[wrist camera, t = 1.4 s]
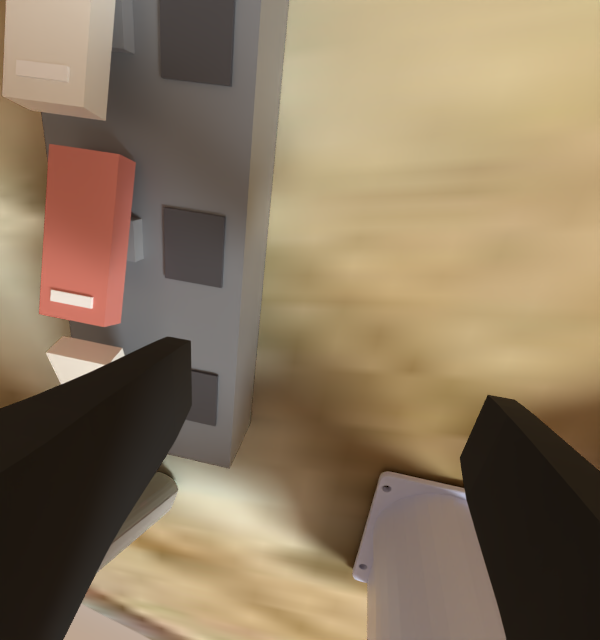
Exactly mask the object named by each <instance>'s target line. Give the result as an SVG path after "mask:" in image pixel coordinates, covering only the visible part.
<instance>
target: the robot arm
mask: <svg viewBox="0 0 600 640" xmlns="http://www.w3.org/2000/svg"><path fill="white" fill-rule="evenodd" d="M191 406H192V373H191V341H190V340H185V339H179V338H174V337H168V336H167V337H165V338H162V339H159V340H157V341H155V342H153V343H150V344H148V345H146V346H144V347H142V348H140V349H138V350H136V351H133V352H131V353H129V354H127V355H125V356H123V357H121V358H119V359H117V360H115V361H112V362H110V363H108V364H106V365H104V366H102V367H100V368H98V369H95V370H93V371H91V372H89V373H87V374H84V375H82V376H80V377H77V378H75V379H73V380H70V381H68V382H66V383H63V384H61V385H59V386H56V387H54V388H52V389H49V390H47V391H45V392H42V393H40V394H38V395H35V396H33V397H30V398H27V399H25V400H22V401H20V402H17V403H14V404H12V405H9V406H6V407H3V408H0V640H63V639H64V637H65V635H66V633H67V631H68V629H69V627H70V625H71V623H72V621H73V619H74V617H75V615H76V613H77V611H78V609H79V607H80V605H81V603H82V600H83V598H84V596H85V594H86V592H87V590H88V588H89V586H90V585H91V583H92V581H93V579H94V577H95V575H96V573H97V571H98V569H99V567H100V565H101V563H102V561H103V559H104V557H105V555H106V553H107V551H108V550H109V548H110V546H111V544H112V542H113V540H114V539H115V537H116V535H117V534H118V532H119V530H120V528H121V527H122V525H123V523H124V522H125V520H126V519H127V517H128V515H129V514H130V512H131V511H132V509H133V507H134V506H135V504H136V503H137V501H138V500H139V498H140V496H141V495H142V493H143V492H144V490H145V489H146V487H147V485H148V484H149V482H150V481H151V479H152V478H153V476H154V474H155V473H156V471H157V470H158V468H159V467H160V465H161V463H162V462H163V460H164V459H165V457H166V455H167V454H168V452H169V451H170V449H171V447H172V446H173V444H174V442H175V441H176V439H177V437H178V435H179V433H180V430H181V428H182V426H183V424H184V422H185V420H186V417H187V415H188V413H189V411H190V409H191ZM460 462H461V469H462V476H463V483H464V488H461V487H457V486H452V485H448V484H443V483H439V482H434V481H430V480H426V479H421V478H417V477H412V476H408V475H403V474H399V473H394V472H389V471H386V472H383V473H381V475H380V477H379V480H378V484H377V487H376V491H375V494H374V498H373V501H372V505H371V508H370V512H369V515H368V519H367V522H366V526H365V529H364V533H363V536H362V540H361V543H360V547H359V550H358V553H357V557H356V560H355V564H354V567H353V577H354V578H355V579H356V580H358V581H362V582H366V583H367V640H600V471H599V470H598V469H596V468H595V467H594V466H593V465H592V464H591V463H589V462H588V461H587V460H586V459H585V458H584V457H582V456H581V455H580V454H579V453H578V452H577V451H575V450H574V449H573V448H572V447H571V446H570V445H568V444H567V443H566V442H565V441H564V440H563V439H562V438H560V437H559V436H558V435H557V434H556V433H555V432H554V431H552V430H551V429H550V428H549V427H548V426H547V425H545V424H544V423H543V422H542V421H541V420H540V419H538V418H537V417H536V416H535V415H534V414H532V413H531V412H530V411H529V410H527V409H526V408H525V407H524V406H522V405H521V404H520V403H518V402H517V401H516V400H513V399H507V398H502V397H496V396H491V395H488V396H487V398H486V400H485V402H484V405H483V407H482V409H481V411H480V414H479V416H478V418H477V420H476V423H475V425H474V427H473V429H472V432H471V434H470V436H469V438H468V441H467V443H466V445H465V447H464V450H463V452H462V454H461V456H460ZM384 486H389V487H384Z"/></svg>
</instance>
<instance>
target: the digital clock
mask: <svg viewBox="0 0 600 640" xmlns="http://www.w3.org/2000/svg"><path fill="white" fill-rule="evenodd" d="M177 492H178V488H177V485H176V483H175V481H174V480H173V479H172V478H171V477H169V476H168V475H166V474H164V473H161V472H156V473H155V474H154V476H153V478H152V479H151V481H150V482H149V484H148V485H147V487H146V489H145V490H144V492H143V493H142V495H141V496H140V498H139V500H138V501H137V503H136V504H135V506H134V507H133V509H132V511H131V512H130V514H129V515H128V517H127V519H126V520H125V522H124V523H123V525H122V527H121V528H120V530H119V532H118V534H117V535H116V537H115V539H114V540H113V542H112V544H111V546H110V548H109V550H108V551H107V553H106V555H105V557H104V559H103V561H102V563H101V565H100V567H99V569H98V571H99V570H100V569H102V568H103V567H104V566H105V565H106V564H107V563H109V562H110V561H111V560H112V559H113V558H115V557H116V556H117V555H118V554H119V553H120V552H122V551H123V550H124V549H125V548H126V547H127V546H129V545H130V544H131V543H132V542H133V541H134V540H136V539H137V538H138V537H139V536H140V535H141V534H143V533H144V532H145V531H146V530H147V529H148V528H150V527H151V526H152V525H153V524H154V523H155V522H157V521H158V520H159V519H160V518H161V517H162V516H164V515H165V514H166V513H167V512H168V511H169V510H170V509H171V507H172V505H173V502H174V500H175V497H176V495H177ZM98 571H97V572H98Z"/></svg>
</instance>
